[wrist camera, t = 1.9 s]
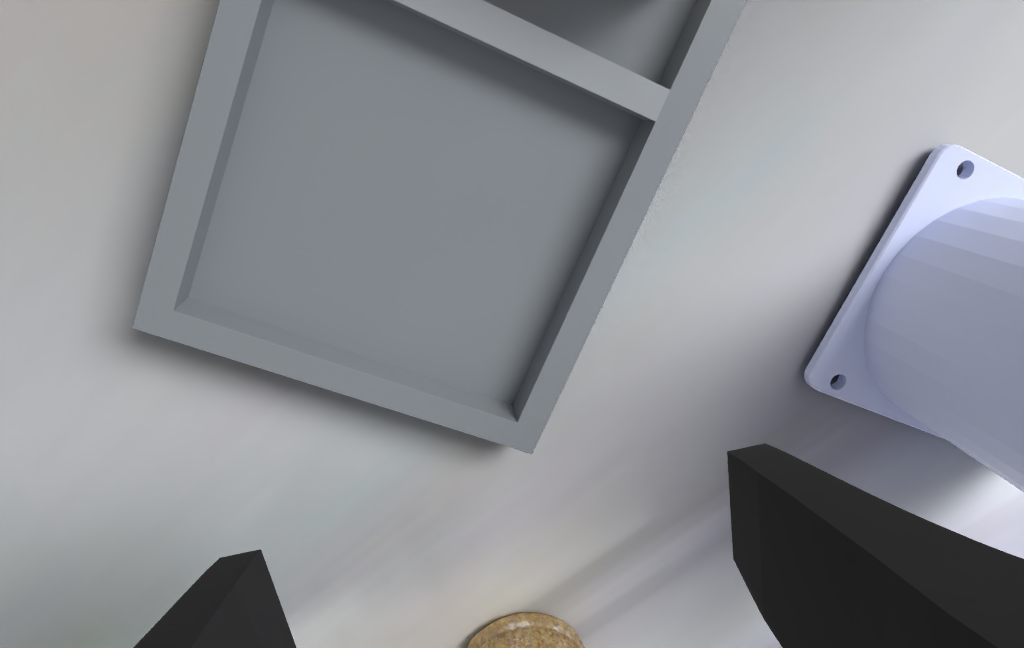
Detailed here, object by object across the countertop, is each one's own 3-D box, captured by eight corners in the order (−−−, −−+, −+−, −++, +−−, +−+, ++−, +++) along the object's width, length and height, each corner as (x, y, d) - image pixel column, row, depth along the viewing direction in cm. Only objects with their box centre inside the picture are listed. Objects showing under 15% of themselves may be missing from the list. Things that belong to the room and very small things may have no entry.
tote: (863, -302, 15) (909, -344, 14) (524, 427, 21) (531, 454, 19) (411, -614, 13) (408, -706, 11) (156, 308, 18) (132, 328, 17)
